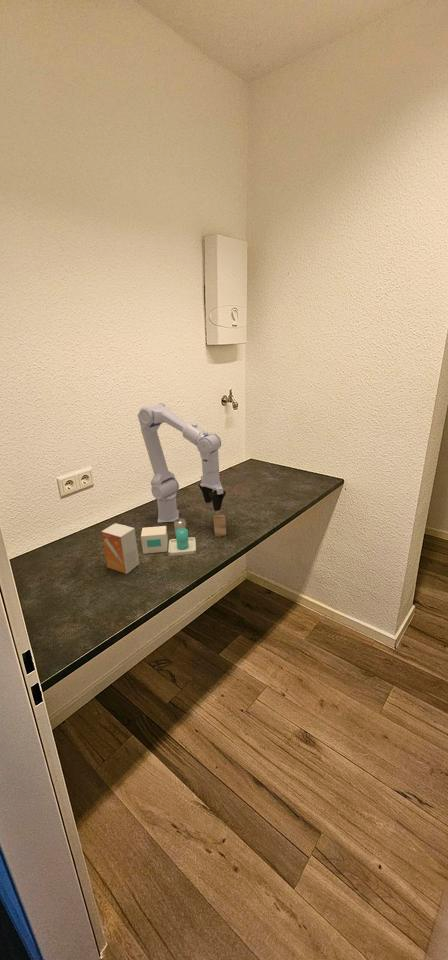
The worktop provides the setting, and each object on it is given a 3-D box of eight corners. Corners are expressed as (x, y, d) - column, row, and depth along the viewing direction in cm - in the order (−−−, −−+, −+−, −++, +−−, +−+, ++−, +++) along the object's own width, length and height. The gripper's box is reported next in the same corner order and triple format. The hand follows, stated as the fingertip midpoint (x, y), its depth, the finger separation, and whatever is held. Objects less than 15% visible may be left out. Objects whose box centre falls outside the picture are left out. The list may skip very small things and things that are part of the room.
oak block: (214, 530, 144) (213, 515, 142) (225, 529, 144) (224, 514, 142) (214, 535, 140) (214, 520, 138) (226, 534, 140) (225, 519, 138)
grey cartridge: (175, 533, 143) (174, 518, 140) (186, 532, 143) (185, 517, 141) (175, 539, 139) (173, 523, 137) (186, 538, 139) (185, 523, 137)
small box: (106, 568, 124) (100, 531, 119) (121, 558, 129) (115, 522, 124) (126, 574, 120) (120, 536, 115) (140, 564, 125) (135, 527, 120)
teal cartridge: (177, 543, 135) (176, 528, 133) (189, 543, 135) (188, 528, 133) (175, 549, 131) (174, 533, 129) (187, 549, 131) (187, 533, 129)
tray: (169, 542, 137) (169, 539, 136) (195, 540, 138) (195, 537, 137) (168, 556, 128) (168, 553, 128) (196, 553, 129) (196, 550, 129)
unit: (144, 544, 137) (142, 527, 134) (168, 542, 137) (166, 525, 135) (142, 554, 130) (140, 536, 128) (167, 552, 131) (165, 534, 129)
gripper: (191, 466, 139) (194, 501, 144) (208, 478, 127) (210, 516, 132) (210, 462, 142) (212, 497, 147) (228, 474, 130) (229, 511, 135)
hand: (212, 506), depth 140 cm, fingers open, 7 cm apart
